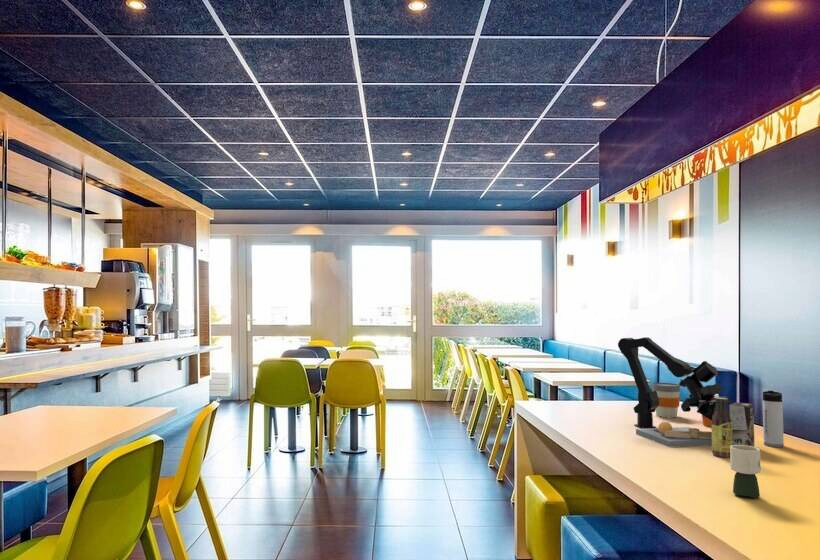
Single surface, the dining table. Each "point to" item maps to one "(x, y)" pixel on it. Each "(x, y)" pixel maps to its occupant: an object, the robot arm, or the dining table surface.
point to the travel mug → (773, 419)
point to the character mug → (745, 469)
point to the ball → (664, 427)
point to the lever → (689, 433)
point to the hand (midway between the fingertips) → (717, 422)
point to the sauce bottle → (721, 429)
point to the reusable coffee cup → (667, 399)
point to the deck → (673, 441)
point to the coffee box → (742, 424)
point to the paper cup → (705, 420)
